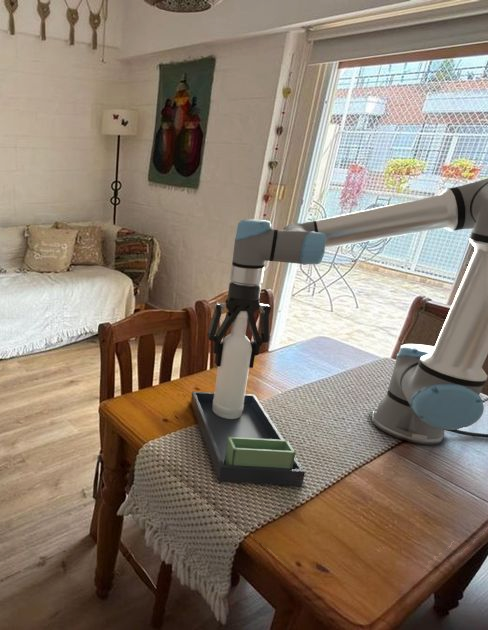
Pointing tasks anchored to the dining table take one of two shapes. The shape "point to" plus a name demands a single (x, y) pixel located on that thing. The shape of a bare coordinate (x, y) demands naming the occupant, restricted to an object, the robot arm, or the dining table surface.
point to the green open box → (259, 453)
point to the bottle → (233, 371)
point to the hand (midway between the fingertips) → (233, 364)
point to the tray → (246, 426)
